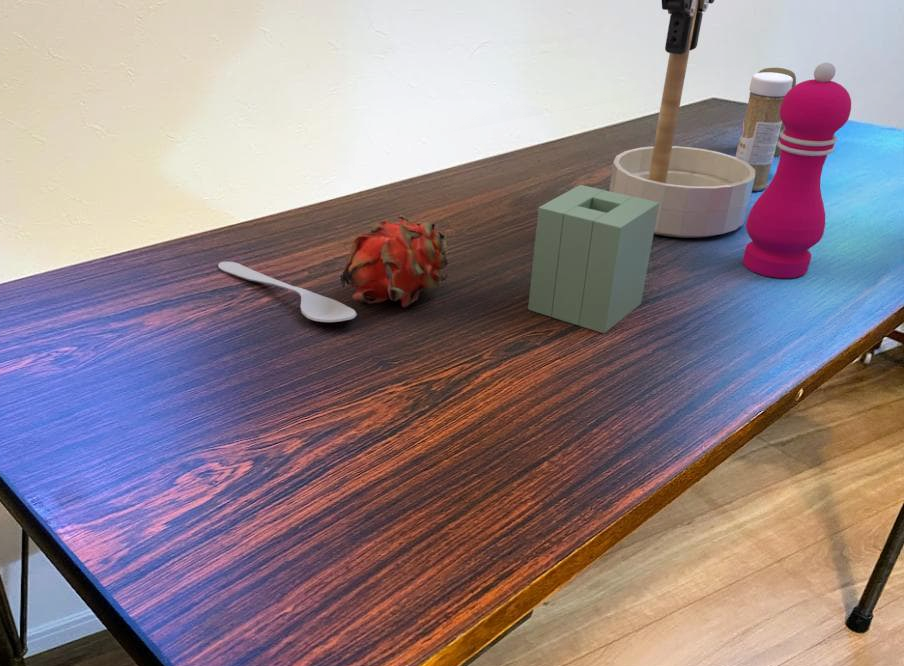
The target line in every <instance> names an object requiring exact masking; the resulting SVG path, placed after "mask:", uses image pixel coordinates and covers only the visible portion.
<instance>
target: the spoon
mask: <svg viewBox="0 0 904 666" xmlns="http://www.w3.org/2000/svg"><path fill="white" fill-rule="evenodd" d="M217 266H218V269H219V270H220V271H222V272H224V273H226V274H229V275H231V276H235V277H238V278H241V279H244V280H246V281H250V282H254V283H259V284H264V285H268V286H269V285H270V286H275V287H278V288H280V289H284V290H286V291H287V290H288V291H290V292H293V293H296V294H297V295H299V296H300V306H299V308H300V312H301V314H302V315H303V316H304V317H305V318H306V319H308V320H310V321H313V322H314V321H315V322H320V323H337V322H345V321H349V320H353V319H355V318H356V317H357V314H358V313H357V312H356V310H355V309H353V308H352V307H350V306H347V305H346V304H344V303H342V302H340V301H338V300H336V299H333V298H331V297H327V296H325V295H321V294H318V293H315V292H313V291H310V290H308V289H305V288H302V287H299V286H295V285H291V284H289V283H286V282H285V281H281V280H279V279H276V278H273V277H272V276H268V275H266V274H264V273H261V272H260V271H259V272H258V271H256V270H255V269H252V268H249V267H247V266H245V265H243V264H241V263H238V262H235V261H221V262H219V263H218V265H217Z"/></svg>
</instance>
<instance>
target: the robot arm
mask: <svg viewBox="0 0 904 666" xmlns="http://www.w3.org/2000/svg"><path fill="white" fill-rule="evenodd" d="M698 1H699V2H698V7H697V13H696V18H695V24H694V29H693V35H692V40H691V46H690V51H693V50H695V49H696V48H697V46H698V44H699V43H698V42H699V37H700V31H701V27H702V21H703V15H704V13H705V12H706V11H707V10H708V8H709V4H711V5H712V4H714V3H715V0H698ZM696 3H697V0H661V9H662V10H665V11H667V13H668V15H670V16H669V22H668V28H667V34H666V39H665V45H664V46H665V47H664V50H665V52H666V53H668V54H670V53H674V54H683V53H685V52H686V51H687V50H688V44H689V39H690V33H691V28H692V22H693V14H694V12H695V7H696Z"/></svg>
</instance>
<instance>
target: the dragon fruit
mask: <svg viewBox="0 0 904 666" xmlns="http://www.w3.org/2000/svg"><path fill="white" fill-rule="evenodd" d="M397 218H398V219H399V221H398V222H397V223H390V222H389V221H387V220H383V221H377V222H376V223H374V224H373V225H372V226H371V229H370V231H369V232H365V233H362V234H360V235H357V236H356V237H355V238H353V240H352V244H351V247H350V249H351V250H350V254H349V257H348V259H347V261H346V264H345V268H344V270H343V271H342V274H341V275H340V277H339V278H340V284H341V286H342V288H344V287H345V286H346V284H347V285H351V286H352V287H353V288H356V289H358V290H356V291H355V292H354V293H352V295H351V297H352V299H353V300H354V301H356V302H357V304H359V303H366V304H369V305H371V304H379V303H383V302H385V301H387V300H388V301H389V300H390V301H392V302H397V301H398V300H400V304H401V307H402V308H407V307H408V306H410V305H411V304H413V303H415V301H417V300H418V299H419V297H421V296H422V295H423V294H424V290H423V289H424V288H425V289H426V290H427V291H432V290H435V289H439V288H440V287H441V283H442V282H444V281H446V280H447V278H448V273H447V274H446V275H445V276H443V275H441V274H440V271H441V270H443V269H445V268H446V267H447V266H448V265H449V264H448V259H447V256H446V252H448V251H449V248H448V242H447V240H448V237H447V235H446V236H445V235H444V234H443V233H441V232H440V231H439V230H435V226H436V225H435V224H434V223H432V222H426V221H423V222H422V223H418V222H414V223H413V222H411V221H409V219H408V218H407V217H406V216H405V215H403V214H400V215H398V216H397Z"/></svg>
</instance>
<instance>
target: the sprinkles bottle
mask: <svg viewBox="0 0 904 666" xmlns="http://www.w3.org/2000/svg"><path fill="white" fill-rule="evenodd" d="M792 83H793V78H792V77H791V76H789V75H785V74H781V73H772V72H763V73H758V72H757V73H754V74H752V76H751V80H750V84H749V97H748V101H747V105H746V111H745V115H744V119H743V121H742V126H741V130H740V131H741V132H740V135H739V140H738V142H739V144H738V143H737V145H738V148H737V147H736V148H737V150H736V154H735V157H736V158H738V159H740V160H743V161H745V162H747V163H749V164H750V165H751V166H752V167H753V168H754V169H755V179H754V184H753V188H752V192H753V191H754V192H758V191H762V190H766V188H767V187H768V178H769V175H770V170H771V167H772V163H773V162H774V158H775V157H774V153H775V149H776V145H777V141H778V137H779V133H780V129H781V125H782V120H781V118H780V107H781V104H782V101H783V99H784V97H785V95H786V94H787V92H788V91H789V90H790V89H791V88H792Z"/></svg>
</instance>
